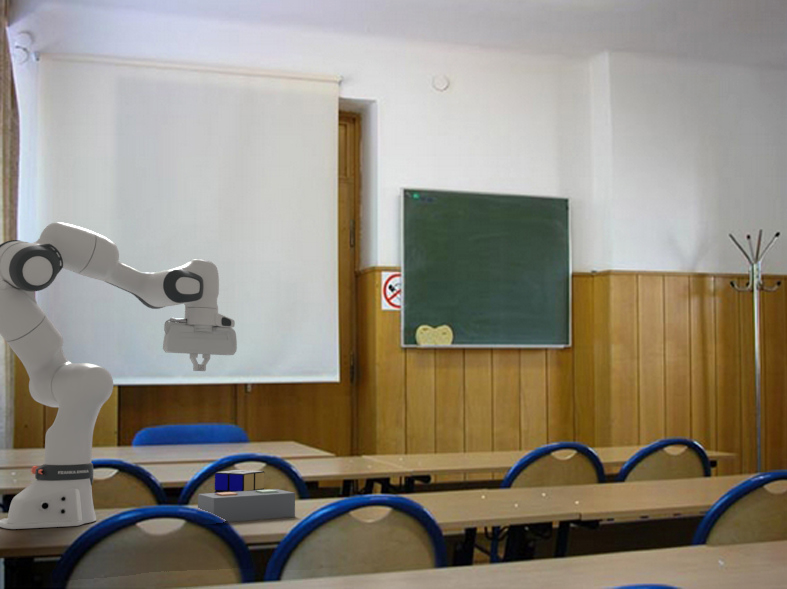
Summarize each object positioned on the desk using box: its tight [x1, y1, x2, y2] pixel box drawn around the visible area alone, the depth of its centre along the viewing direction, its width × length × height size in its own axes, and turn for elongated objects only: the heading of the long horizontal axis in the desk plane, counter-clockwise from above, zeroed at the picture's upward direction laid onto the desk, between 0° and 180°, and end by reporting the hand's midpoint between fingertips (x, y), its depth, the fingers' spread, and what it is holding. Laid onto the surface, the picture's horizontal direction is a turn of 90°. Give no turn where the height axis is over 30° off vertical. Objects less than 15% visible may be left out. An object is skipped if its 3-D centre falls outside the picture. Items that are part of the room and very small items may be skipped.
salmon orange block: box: [216, 492, 238, 496], centre depth 235 cm, size 4×4×6 cm
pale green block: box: [256, 488, 277, 494], centre depth 241 cm, size 4×4×6 cm
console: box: [197, 488, 296, 523], centre depth 238 cm, size 22×11×6 cm, turn 122°
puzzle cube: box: [214, 469, 266, 493], centre depth 257 cm, size 10×10×10 cm
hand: (199, 371), depth 250 cm, fingers closed
